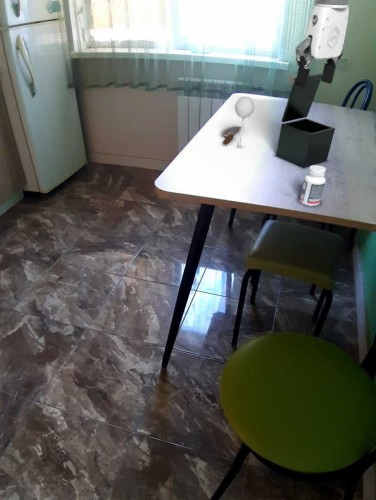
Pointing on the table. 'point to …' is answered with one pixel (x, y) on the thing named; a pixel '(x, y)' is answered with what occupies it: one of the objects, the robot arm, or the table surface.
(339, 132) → the table surface
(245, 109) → the lollipop
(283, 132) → the bin
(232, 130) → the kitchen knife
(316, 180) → the pill bottle
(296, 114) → the bin lid
